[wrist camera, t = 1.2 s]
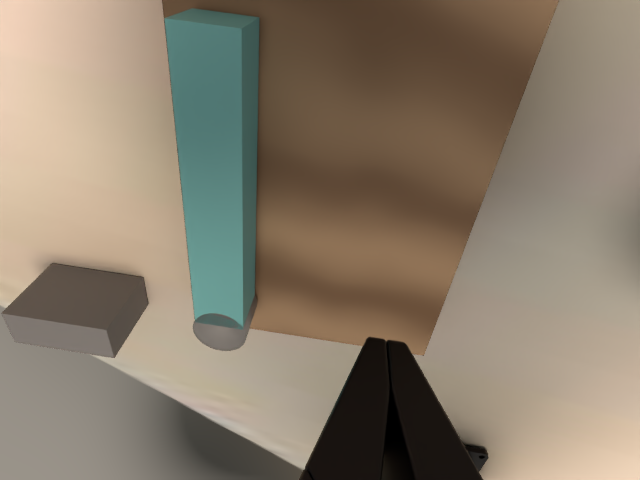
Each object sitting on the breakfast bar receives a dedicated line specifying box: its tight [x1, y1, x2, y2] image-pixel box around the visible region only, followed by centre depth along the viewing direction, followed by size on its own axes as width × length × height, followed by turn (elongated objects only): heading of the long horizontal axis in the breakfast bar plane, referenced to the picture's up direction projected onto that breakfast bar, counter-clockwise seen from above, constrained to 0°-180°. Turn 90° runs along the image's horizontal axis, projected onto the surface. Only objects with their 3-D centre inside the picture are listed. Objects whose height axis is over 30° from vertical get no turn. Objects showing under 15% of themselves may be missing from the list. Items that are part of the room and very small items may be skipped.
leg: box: [164, 8, 259, 351], centre depth 19 cm, size 16×3×2 cm, turn 174°
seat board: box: [162, 0, 559, 356], centre depth 20 cm, size 20×14×2 cm
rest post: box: [1, 263, 148, 358], centre depth 26 cm, size 2×6×4 cm, turn 84°
